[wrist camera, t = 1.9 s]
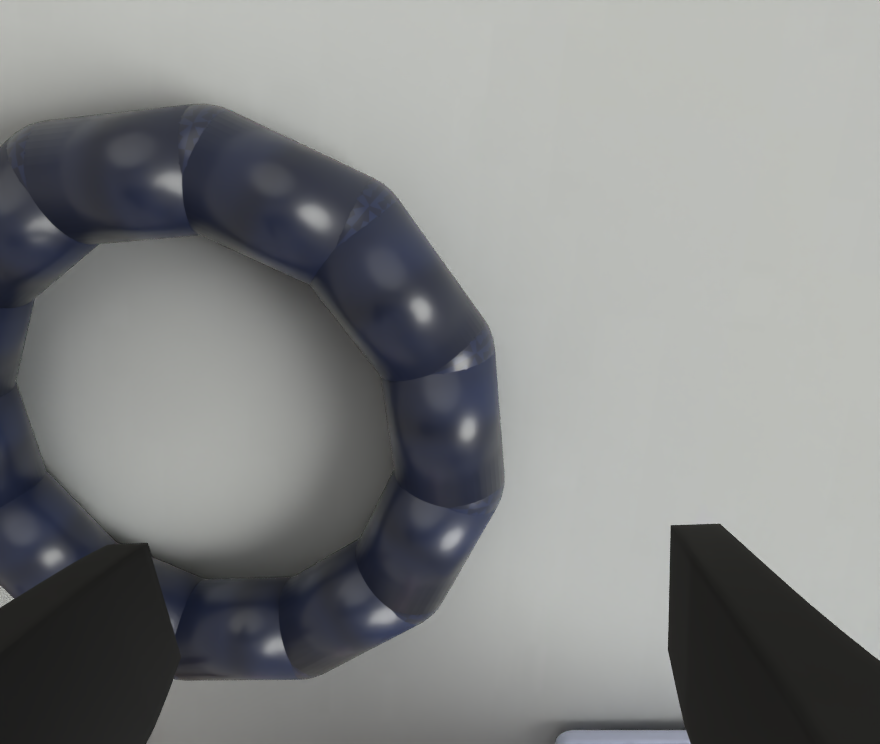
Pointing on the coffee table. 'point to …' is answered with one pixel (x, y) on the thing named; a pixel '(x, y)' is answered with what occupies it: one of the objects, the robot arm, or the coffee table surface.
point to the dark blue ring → (349, 300)
